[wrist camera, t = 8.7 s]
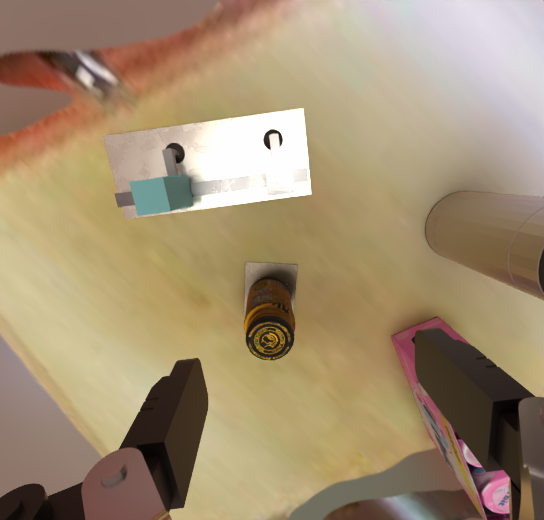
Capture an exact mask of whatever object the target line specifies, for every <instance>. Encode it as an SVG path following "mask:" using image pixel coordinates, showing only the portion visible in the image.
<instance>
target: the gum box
mask: <svg viewBox="0 0 544 520" xmlns="http://www.w3.org/2000/svg"><path fill="white" fill-rule="evenodd" d="M431 328H441V329H442V330H443V331H444V332H446V333H447V334H448V335H449V336H450V337H451V338H453V339H454V340H460V341H462V342H465V343H467V344H469V343H468V342H467V341H466V340H465V339H463V338H462V337H461V336H460V335H459V334H458V333H456V332H455V331H454V330H453V329H452V328H451V327H449V326H448V325H447V324H446V323H445V322H444V321H442V320H441V319H440V318H439V317H437V318H434V319H432V320H429V321H427V322H424V323H422V324H419V325H416V326H414V327H411V328H409V329H407V330H405V331H402V332H400V333H397V334H395V335H392V336H391V337H392V340H393V342H394V345H395V347H396V350H397V352H398V355H399V358H400V361H401V363H402V366H403V368H404V371H405V373H406V376H407V379H408V382H409V384H410V386H411V389H412V391H413V394H414V397H415V400H416V402H417V405H418V407H419V410H420V412H421V415H422V418H423V420H424V423H425V425H426V428H427V430H428V433H429V435H430V438H431V439H432V440H433V442H434V443H435V445H436V446H437V448H438V450H439V451H440V452H441V454H442V456H443V457H444V459H445V460H446V462H447V464H448V465H449V467H450V468H451V469H452V471H453V473H454V474H455V476H456V477H457V479H458V480H459V482H460V483H461V485H462V487H463V488H464V490H465V491H466V493H467V494H468V496H469V497H470V499H471V501H472V502H473V504H474V505H475V507H476V508H477V510H478V511H479V513H480V514H481V516H482V518H483V519H484V520H510V513H509V488H508V487H509V476H508V475H507V474H506V473H505V471H504V470H500V471H492V472H486V471H485V470H484V468H483V467H482V466H481V464H480V463H479V462H478V460H477V459H476V458H475V456H474V455H473V454H472V452H471V451H470V450H469V448H468V447H467V446H466V444H465V443H464V442H463V440H462V439H461V438H460V436H459V435H458V434H457V432H456V431H455V430H454V428H453V427H452V426H451V424H450V423H449V422H448V420H447V419H446V418H445V416H444V415H443V414H442V412H441V411H440V410H439V408H438V407H437V406H436V404H435V403H434V402H433V401H432V399H431V398H430V397H429V395H428V394H427V393H426V391H425V390H424V389H423V387H422V386H421V384H420V383H419V381H418V378H417V376H416V372H415V333H416V331H417V330H423V329H431ZM469 345H470V344H469Z"/></svg>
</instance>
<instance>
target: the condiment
mask: <svg viewBox="0 0 544 520" xmlns="http://www.w3.org/2000/svg"><path fill="white" fill-rule="evenodd" d="M297 266H298V265H292V264H276V263H252V262H246V272H245V305H244V317H245V320H244V330H245V333H246V343H247V346H248V348H249V349H250V352H251V353H252V354H253V355H254V356H256V357H258V358H260V359H263V360H276V359H279V358H281V357H283V356H285V355H286V354H287V353H288V352H289V351H290V349H291V347H292V346H293V342H294V331H295V318H294V301H295V290H296V278H297ZM260 275H262V276H261V277H260ZM259 277H260V279H258V278H259ZM286 284H287V285H286Z"/></svg>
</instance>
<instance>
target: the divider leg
mask: <svg viewBox="0 0 544 520" xmlns="http://www.w3.org/2000/svg"><path fill="white" fill-rule="evenodd" d="M162 153H163V157H164V162H165V166H166V171H167V175H168V176H165V177H158V178H153V179H146V180H139V181H132V182H129V184H130V188H131V191H132V195H133V199H134V203H135V207H136V211H137V215H138V216H141V215H148V214H156V213H163V212H170V211H173V210H177V209H185V208H189V207H192V206H194V204H193V199H192V194H191V189H190V184H189V179H188V175H186V174H180V175H179V173H178V168H177V164H176V159H175V157H176V156H177V155H178V152H177V151H176V150H174V149H171V148H167V149H164V150H162Z"/></svg>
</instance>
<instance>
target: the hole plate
mask: <svg viewBox="0 0 544 520" xmlns="http://www.w3.org/2000/svg"><path fill="white" fill-rule="evenodd" d="M103 138H104V142H105V146H106V149H107V153H108V157H109V160H110V164H111V168H112V171H113V175H114V179H115V183H116V186H117V190H118V193H116V194H115V197H116V201H117V205H118V207H122V208H123V212H124V216H125V219H133V218H140V217H148V216H155V215H162V214H170V213H177V212H184V211H192V210H199V209H206V208H214V207H221V206H228V205H236V204H243V203H250V202H258V201H265V200H272V199H279V198H287V197H294V196H301V195H309V194H311V185H310V174H309V164H308V153H307V142H306V131H305V120H304V109H303V108H300V109H293V110H286V111H279V112H272V113H265V114H258V115H250V116H243V117H236V118H229V119H222V120H215V121H207V122H200V123H193V124H186V125H179V126H172V127H164V128H157V129H150V130H143V131H136V132H129V133H121V134H114V135H107V136H103ZM167 148H171V149H174V150H176V151H177V152H178V155H177V156H176V157H175V159H176V164H177V168H178V173H179V175H180V174H186V175H188V179H189V184H190V189H191V194H192V199H193V204H194V206H192V207H189V208H185V209H177V210H173V211H170V212H163V213H156V214H148V215H141V216H138V215H137V211H136V207H135V203H134V199H133V195H132V191H131V188H130V184H129V182H132V181H139V180H146V179H153V178H158V177H165V176H168V175H167V171H166V166H165V162H164V157H163V153H162V150H164V149H167Z"/></svg>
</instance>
